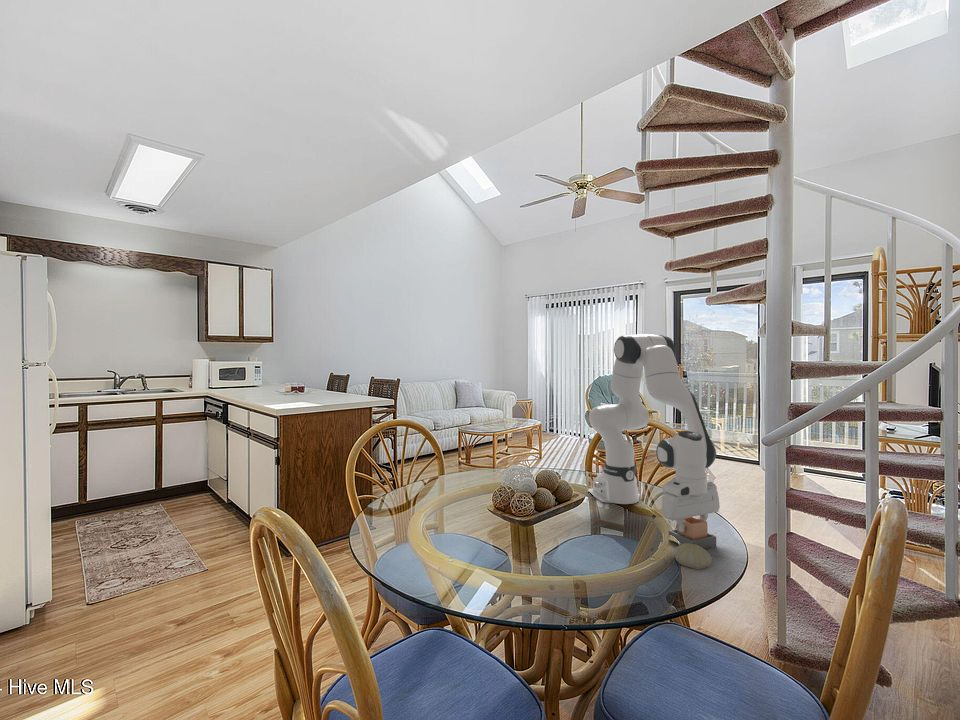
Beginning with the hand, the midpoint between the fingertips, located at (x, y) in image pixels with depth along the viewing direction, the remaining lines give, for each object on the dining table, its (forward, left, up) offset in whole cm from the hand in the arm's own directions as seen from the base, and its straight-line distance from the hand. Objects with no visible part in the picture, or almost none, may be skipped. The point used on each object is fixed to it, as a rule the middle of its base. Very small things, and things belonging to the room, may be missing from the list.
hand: (691, 529), depth 137 cm
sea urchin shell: (+10, -11, -4) cm, 15 cm away
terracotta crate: (0, 0, -2) cm, 2 cm away
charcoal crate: (0, 0, -4) cm, 4 cm away
